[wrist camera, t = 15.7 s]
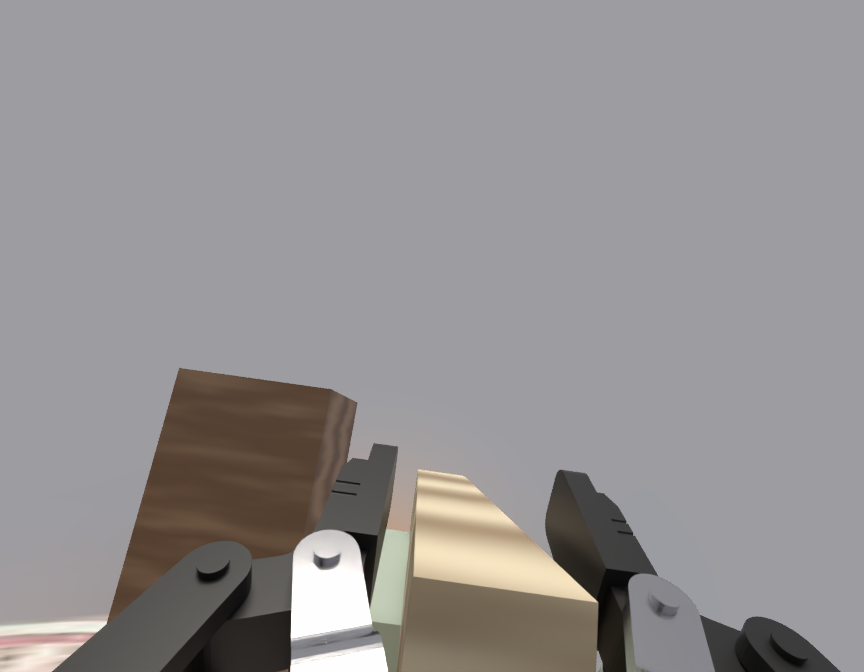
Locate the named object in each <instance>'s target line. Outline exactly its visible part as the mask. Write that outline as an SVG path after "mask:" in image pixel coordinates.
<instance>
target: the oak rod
mask: <svg viewBox="0 0 864 672" xmlns="http://www.w3.org/2000/svg"><path fill="white" fill-rule="evenodd" d="M597 629H598V602H597V601H596V600H595V599H594V598H593V597H592V596H591V595H590V594H589V593H588V592H587V591H586V590H585V589H583V588H582V587H581V586H580V585H579V584H578V583H577V582H576V581H575V580H574V579H573V578H572V577H571V576H570V575H569V574H568V573H567V572H565V571H564V570H563V569H562V568H561V567H560V566H559V565H558V564H557V563H556V562H555V561H554V560H553V559H552V558H551V557H550V556H548V555H547V554H546V553H545V552H544V551H543V550H542V549H541V548H540V547H539V546H538V545H537V544H536V543H535V542H534V541H533V540H531V539H530V538H529V537H528V536H527V535H526V534H525V533H524V532H523V531H522V530H521V529H520V528H519V527H518V526H516V524H514V523H513V522H512V521H511V520H510V519H509V518H508V517H507V516H506V515H505V514H504V513H503V512H502V511H501V510H500V509H499V508H497V507H496V506H495V505H494V504H493V503H492V502H491V501H490V500H489V499H488V498H487V497H486V496H485V495H484V494H483V493H482V492H481V491H479V490H478V489H477V488H476V487H475V486H474V485H473V484H472V483H471V482H470V481H469V480H467V478H466V477H465V476H461V475H453V474H446V473H439V472H432V471H425V470H418V474H417V481H416V489H415V496H414V504H413V511H412V518H411V527H410V538H409V548H408V558H407V568H406V578H405V588H404V598H403V609H402V619H401V629H400V639H399V649H398V659H397V670H396V672H596V656H597Z"/></svg>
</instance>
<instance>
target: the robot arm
mask: <svg viewBox="0 0 864 672" xmlns="http://www.w3.org/2000/svg"><path fill="white" fill-rule="evenodd" d="M397 453H398V447H397V446H389V445H382V444H375V443H374V444H373V447H372V450H371V453H370V456H369V459H368V460H363V459H356V458H352V459H351V460H350V461H349V462H348V463H346V464H345V465H344V466H343V467H341V470H340V472H339V474H338V477H337V479H336V482H335V484H334V486H333V488H332V491H331V493H330V495H329V498H328V500H327V502H326V505H325V507H324V509H323V512H322V514H321V516H320V519H319V521H318V523H317V526H316V528H315V530H314V532H313V533H312V534H310V535H308V536H307V537H305V538H304V539H303V540H302V541H301V542H300V543H299V544H298V545H297V547H296V549H295V551H292V552H290V553H288V554H284V555H281V556H276V557H268V558H261V559H253V560H252V557H251V554H250V551H249V550H248V549H247V548H246V547H245V546H244V545H242V544H240V543H237V542H233V541H217V542H212V543H209V544H206V545H203V546H201V547H199V548H197V549H195V550H193V551H192V552H190V553H189V554H187V555H186V556H185V557H184V558H183V559H181V560H180V561H179V562H178V563H177V564H176V565H175V566H173V567H172V568H171V569H170V570H169V571H168V572H166V573H165V574H164V575H163V576H162V577H161V578H160V579H158V580H157V581H156V582H155V583H154V584H153V585H151V586H150V587H149V588H148V589H147V590H146V591H145V592H143V593H142V594H141V595H140V596H139V597H138V598H136V599H135V600H134V601H133V602H132V603H131V604H130V605H128V606H127V607H126V608H125V609H124V610H123V611H122V612H120V613H119V614H118V615H117V616H116V617H115V618H113V619H112V620H111V621H110V622H109V623H108V624H107V625H105V626H104V627H103V628H102V629H101V630H100V631H98V632H97V633H96V634H95V635H94V636H93V637H92V638H90V639H89V640H88V641H87V642H86V643H85V644H83V645H82V646H81V647H80V648H79V649H78V650H77V651H75V652H74V653H73V654H72V655H71V656H70V657H68V658H67V659H66V660H65V661H64V662H63V663H62V664H60V665H59V666H58V667H57V668H56V669H55V670H53V671H52V672H277V671H282V670H286V669H288V672H388V670H387V665H386V659H385V654H384V648H383V643H382V639H381V636H380V633H379V632H378V631H373V627H372V622H371V616H370V606H371V601H372V597H373V592H374V587H375V582H376V577H377V572H378V567H379V562H380V557H381V552H382V547H383V542H384V537H385V532H386V527H387V522H388V517H389V512H390V505H391V500H392V493H393V485H394V477H395V469H396V461H397ZM545 521H546V522H545V528H546V535H547V539H548V543H549V546H550V549H551V552H552V556H553V559H554V561H555V562H556V563H557V564H558V565H559V566H560V567H561V568H562V569H563V570H564V571H565V572H567V573H568V574H569V575H570V576H571V577H572V578H573V579H574V580H575V581H576V582H577V583H578V584H579V585H580V586H581V587H582V588H583V589H585V590H586V591H587V592H588V593H589V594H590V595H591V596H592V597H593V598H594V599H595V600H596V601H597V602H598V629H597V651H599V654H600V657H601V660H602V662H601V665H600V668H599V671H598V672H840V671H839V670H838V669H837V668H836V667H835V666H834V665H833V664H832V663H831V662H830V661H829V660H828V659H826V658H825V657H824V656H823V655H822V654H821V653H820V652H819V651H818V650H817V649H816V648H815V647H814V646H813V645H811V644H810V643H809V642H808V641H807V640H805V639H804V638H803V637H802V636H800V635H799V634H798V633H796V632H795V631H793V630H792V629H790V628H788V627H786V626H785V625H783V624H781V623H778V622H776V621H774V620H771V619H768V618H764V617H752V618H749V619H747V620H746V622H745V623H744V625H743V628H742V630H741V631H738V630H736V629H733V628H730V627H728V626H726V625H723V624H721V623H718V622H716V621H713V620H710V619H708V618H706V617H704V616H701V615H699V612H698V610H697V608H696V606H695V604H694V603H693V602H692V600H691V599H690V598H689V597H688V596H687V595H686V594H685V593H684V592H683V591H682V590H681V589H679V588H678V587H677V586H675V585H674V584H672V583H671V582H669V581H667V580H665V579H663V578H660V577H658V575H657V573H656V571H655V570H654V568H653V566H652V565H651V563H650V561H649V559H648V558H647V556H646V554H645V552H644V551H643V549H642V548H641V546H640V544H639V542H638V540H637V539H636V537H635V536H633V532H632V530H631V529H630V527H629V525H628V524H626V520H625V518H624V516H623V515H622V513H621V511H620V509H619V508H618V506H617V505H615V504H614V503H613V502H612V501H611V500H610V499H609V498H608V497H607V496H606V495H605V494H603V493H597V492H596V490H595V488H594V487H593V485H592V483H591V481H590V479H589V477H588V476H587V474H585V473H580V472H573V471H565V470H559V471H558V472H557V475H556V478H555V482H554V486H553V489H552V493H551V497H550V501H549V505H548V509H547V513H546V520H545Z"/></svg>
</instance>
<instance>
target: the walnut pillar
mask: <svg viewBox="0 0 864 672" xmlns="http://www.w3.org/2000/svg"><path fill="white" fill-rule="evenodd" d="M356 407H357V402H355V401H353V400H351V399H349V398H347V397H345V396H343V395H341V394H339V393H337V392H335V391H333V390H331V389H324V388H317V387H310V386H303V385H296V384H289V383H281V382H275V381H267V380H260V379H253V378H246V377H239V376H232V375H225V374H217V373H210V372H203V371H196V370H188V369H182V368H179V371H178V374H177V378H176V381H175V385H174V389H173V392H172V395H171V399H170V403H169V406H168V410H167V413H166V417H165V420H164V424H163V428H162V431H161V434H160V438H159V441H158V445H157V449H156V452H155V456H154V459H153V463H152V466H151V470H150V474H149V477H148V480H147V484H146V487H145V491H144V494H143V498H142V501H141V505H140V508H139V512H138V515H137V519H136V522H135V526H134V530H133V533H132V537H131V540H130V544H129V547H128V551H127V554H126V558H125V561H124V565H123V568H122V572H121V575H120V579H119V582H118V586H117V589H116V593H115V597H114V600H113V604H112V607H111V611H110V614H109V618H108V621H107V624H108V623H109V622H110V621H111V620H112V619H113V618H115V617H116V616H117V615H118V614H119V613H120V612H122V611H123V610H124V609H125V608H126V607H127V606H128V605H130V604H131V603H132V602H133V601H134V600H135V599H136V598H138V597H139V596H140V595H141V594H142V593H143V592H145V591H146V590H147V589H148V588H149V587H150V586H151V585H153V584H154V583H155V582H156V581H157V580H158V579H160V578H161V577H162V576H163V575H164V574H165V573H166V572H168V571H169V570H170V569H171V568H172V567H173V566H175V565H176V564H177V563H178V562H179V561H180V560H181V559H183V558H184V557H185V556H186V555H187V554H189V553H190V552H192V551H193V550H195V549H197V548H199V547H201V546H203V545H206V544H209V543H212V542H217V541H233V542H237V543H240V544H242V545H244V546H245V547H246V548H247V549H248V550H249V551H250V554H251V557H252V560H253V559H261V558H268V557H276V556H281V555H284V554H288V553H290V552H292V551H295V549H296V547H297V545H298V544H299V543H300V542H301V541H302V540H303V539H304V538H305V537H307V536H308V535H310V534H312V533H313V532H314V530H315V528H316V526H317V523H318V521H319V519H320V516H321V514H322V512H323V509H324V507H325V505H326V502H327V500H328V498H329V495H330V493H331V491H332V488H333V486H334V484H335V482H336V479H337V477H338V474H339V472H340V470H341V467H343V466H344V465H345V464H346V463H347V458H348V452H349V446H350V441H351V436H352V430H353V424H354V418H355V413H356ZM277 672H288V669H286V670H282V671H277Z"/></svg>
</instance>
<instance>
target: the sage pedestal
mask: <svg viewBox="0 0 864 672" xmlns="http://www.w3.org/2000/svg"><path fill="white" fill-rule="evenodd" d="M409 538H410V532H405V531H397V530H391V529H386V532H385V537H384V542H383V547H382V552H381V557H380V562H379V567H378V572H377V577H376V582H375V587H374V592H373V597H372V601H371V606H370V616H371V622H372V627H373V631H378V632H379V633H380V636H381V639H382V643H383V648H384V654H385V659H386V665H387V670H388V672H396V670H397V659H398V649H399V639H400V629H401V619H402V609H403V598H404V588H405V578H406V568H407V558H408V548H409Z"/></svg>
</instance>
